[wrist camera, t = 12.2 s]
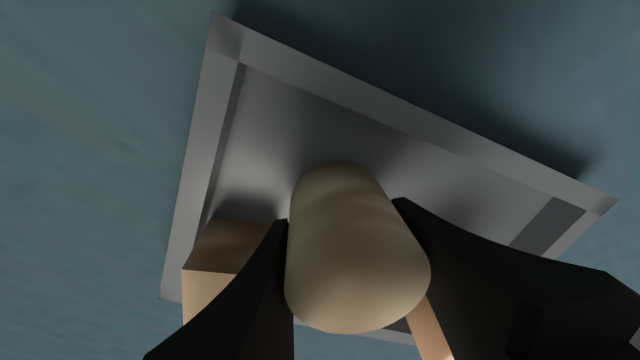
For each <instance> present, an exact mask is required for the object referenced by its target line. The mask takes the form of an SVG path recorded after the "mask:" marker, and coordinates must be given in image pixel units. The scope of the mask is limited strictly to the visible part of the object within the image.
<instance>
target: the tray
mask: <svg viewBox="0 0 640 360" xmlns="http://www.w3.org/2000/svg"><path fill="white" fill-rule="evenodd" d="M331 161H348V162H352V163H356V164H358V165H361V166H362V167H364V168H366V169H367V170H368V171H370V172H371V173H372V174H373V176H374V177H375V178H376V180H377V181H378V183H379V184H380V186H381V187H382V189H383V190H384V192H385V193H386V195H387V196H388V198H389V199H390V201H391V199H393V198H399V197H406V198H407V199H409V200H411V201H413V202H414V203H416V204H418V205H419V206H421V207H423V208H424V209H426V210H428V211H430V212H431V213H433V214H435V215H437V216H439V217H440V218H442V219H444V220H446V221H448V222H450V223H452V224H454V225H456V226H458V227H460V228H462V229H464V230H467V231H469V232H471V233H474V234H476V235H479V236H481V237H483V238H486V239H488V240H491V241H494V242H497V243H499V244H502V245H505V246H508V247H511V248H514V249H517V250H520V251H524V252H527V253H531V254H534V255H538V256H541V257H545V258H549V259H552V260H555V259H556V258H557V257H558V256H560V255H561V254H562V253H563V252H564V251H565V250H566V249H567V248H568V247H569V246H570V245H571V244H572V243H573V242H574V241H575V240H577V239H578V238H579V237H580V236H581V235H582V234H583V233H584V232H585V231H586V230H587V229H588V228H589V227H590V226H591V225H593V224H594V223H595V222H596V221H597V220H598V219H599V218H600V217H601V216H602V215H603V214H604V213H605V212H606V211H607V210H609V209H610V208H611V207H612V206H613V205H614V204H615V203H616V202H617V201H618V199H616V198H614V197H611V196H609V195H607V194H605V193H603V192H601V191H599V190H596V189H594V188H592V187H590V186H588V185H586V184H583V183H581V182H579V181H577V180H575V179H573V178H570V177H568V176H566V175H564V174H562V173H560V172H558V171H555V170H553V169H551V168H549V167H547V166H545V165H542V164H540V163H538V162H536V161H534V160H532V159H530V158H527V157H525V156H523V155H521V154H519V153H517V152H514V151H512V150H510V149H508V148H506V147H504V146H502V145H499V144H497V143H495V142H493V141H491V140H489V139H486V138H484V137H482V136H480V135H478V134H476V133H474V132H471V131H469V130H467V129H465V128H463V127H461V126H458V125H456V124H454V123H452V122H450V121H448V120H446V119H443V118H441V117H439V116H437V115H435V114H433V113H430V112H428V111H426V110H424V109H422V108H420V107H418V106H415V105H413V104H411V103H409V102H407V101H405V100H402V99H400V98H398V97H396V96H394V95H392V94H389V93H387V92H385V91H383V90H381V89H379V88H377V87H374V86H372V85H370V84H368V83H366V82H364V81H361V80H359V79H357V78H355V77H353V76H351V75H349V74H346V73H344V72H342V71H340V70H338V69H336V68H333V67H331V66H329V65H327V64H325V63H323V62H321V61H318V60H316V59H314V58H312V57H310V56H308V55H305V54H303V53H301V52H299V51H297V50H295V49H293V48H290V47H288V46H286V45H284V44H282V43H280V42H277V41H275V40H273V39H271V38H269V37H267V36H265V35H262V34H260V33H258V32H256V31H254V30H252V29H249V28H247V27H245V26H243V25H241V24H239V23H236V22H234V21H232V20H230V19H228V18H226V17H224V16H221V15H219V14H217V13H215V12H213V11H212V15H211V21H210V26H209V31H208V37H207V42H206V47H205V52H204V58H203V63H202V68H201V74H200V79H199V84H198V90H197V95H196V100H195V106H194V111H193V116H192V122H191V127H190V132H189V137H188V143H187V148H186V153H185V159H184V164H183V169H182V175H181V180H180V185H179V191H178V196H177V201H176V207H175V212H174V217H173V222H172V228H171V233H170V238H169V244H168V249H167V254H166V260H165V265H164V270H163V276H162V281H161V286H160V292H159V297H158V299H160V300H166V301H171V302H177V303H182V304H183V300H182V273H181V269H182V267H183V266H184V264H185V262H186V260H187V259H188V257H189V255H190V253H191V252H192V250H193V248H194V246H195V244H196V243H197V241H198V239H199V237H200V236H201V234H202V232H203V230H204V229H205V227H206V225H207V223H208V222H209V220H210V218H211V217H215V218H222V219H230V220H238V221H245V222H253V223H261V224H269V225H272V223H273V222H274V221H275V220H278V219H284V218H287V219H288V223H289V213H290V201H291V195H292V191H293V189H294V187H295V185H296V183H297V182H298V180H299V179H300V178H301V177H302V176H303V175H304V174H305V173H306V172H307V171H309V170H310V169H312V168H314V167H315V166H317V165H320V164H322V163H326V162H331ZM293 324H298V325H303V326H308V325H307V324H305V323H303V322H302V321H301V320H299V319H298V318H297V317H296V316H295V315H294V323H293ZM309 327H310V326H309ZM353 335H358V336H364V337H369V338H375V339H380V340H386V341H391V342H397V343H402V344H408V345H413V346H417V345H416V342H415V340H414V337H413V335H412V332H411V330H410V327H409V325H408V322H407V320H406V317H405V316H404V317H402V318H401V319H399V320H398V321H396V322H394V323H392V324H390V325H388V326H385V327H383V328H380V329H377V330H374V331H369V332H365V333H358V334H353Z"/></svg>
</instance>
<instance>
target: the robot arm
mask: <svg viewBox="0 0 640 360" xmlns="http://www.w3.org/2000/svg"><path fill="white" fill-rule="evenodd" d="M391 202H392V204H393V205H394V207H395V208H396V210H397V211H398V213H399V214H400V216H401V217H402V219H403V220H404V222H405V223H406V225H407V226H408V228H409V229H410V231H411V232H412V234H413V235H414V237H415V238H416V240H417V241H418V243H419V244H420V246H421V247H422V249H423V250H424V252H425V253H426V255H427V257H428V260H429V263H430V267H431V278H430V283H429V286H428V289H427V291H426V293H425V295H426V297H427V299H428V301H429V303H430V305H431V307H432V310H433V312H434V314H435V316H436V318H437V321H438V323H439V325H440V327H441V330H442V332H443V334H444V336H445V339H446V341H447V343H448V346H449V348H450V350H451V353H452V355H453V358H454V360H640V351H639V350H637V349H636V348H635V347H633V345H631V344H630V343H629V340H630V339H631V338H632V337H633V335H634V334H635V333H636V331H637V330H638V328H639V327H640V295H639V294H638V293H636V292H635V291H633V290H632V289H630V288H629V287H627V286H626V285H624V284H623V283H622V282H620V281H619V280H617V279H616V278H614V277H613V276H611V275H610V274H609V273H607V272H605V271H601V270H597V269H592V268H587V267H583V266H578V265H574V264H569V263H565V262H560V261H556V260H552V259H549V258H545V257H541V256H538V255H534V254H531V253H527V252H524V251H520V250H517V249H514V248H511V247H508V246H505V245H502V244H499V243H497V242H494V241H491V240H488V239H486V238H483V237H481V236H479V235H476V234H474V233H471V232H469V231H467V230H464V229H462V228H460V227H458V226H456V225H454V224H452V223H450V222H448V221H446V220H444V219H442V218H440V217H439V216H437V215H435V214H433V213H431V212H430V211H428V210H426V209H424V208H423V207H421V206H419V205H418V204H416V203H414V202H413V201H411V200H409V199H407V198H406V197H399V198H393V199H391ZM288 226H289V223H288V219H287V218H284V219H278V220H275V221H274V222H273V223H272V225H271V227H270V228H269V230H268V231H267V233H266V235H265V236H264V238H263V239H262V241H261V243H260V244H259V246H258V247H257V249H256V250H255V252H254V253H253V254H252V256H251V257H250V258H249V260H248V261H247V262H246V264H245V265H244V266H243V268H242V269H241V270H240V271H239V273H238V274H237V275H236V276H235V277H234V278H233V279H232V281H231V282H230V283H229V284H228V285H227V286H226V287H225V288H224V289H223V290H222V291H221V292H220V293H219V294H218V295H217V296H216V297H215V298H214V299H213V300H212V301H211V302H210V303H209V304H208V305H207V306H206V307H205V308H203V309H202V310H201V311H200V312H199V313H198V314H197V315H196V316H194V317H193V318H192V319H191V320H190V321H188V322H187V323H186V324H185V325H184V326H182V327H181V328H180V329H179V330H177V331H176V332H175V333H173V334H172V335H171V336H170V337H168V338H167V339H166V340H164V341H163V342H162V343H160V344H159V345H158V346H156V347H155V348H154V349H152V350H151V351H150V352H148V353H147V354H145V356H144V358H143V360H294V331H293V323H294V314H293V313H292V311H291V310H290V308H289V307H288V305H287V302H286V299H285V295H284V279H285V266H286V253H287V240H288Z"/></svg>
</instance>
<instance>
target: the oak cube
mask: <svg viewBox="0 0 640 360" xmlns="http://www.w3.org/2000/svg"><path fill="white" fill-rule="evenodd" d="M270 227H271V225H269V224H261V223H253V222H245V221H238V220H230V219H222V218H215V217H211V218H210V220H209V222H208V223H207V225H206V227H205V229H204V230H203V232H202V234H201V236H200V237H199V239H198V241H197V243H196V244H195V246H194V248H193V250H192V252H191V253H190V255H189V257H188V259H187V260H186V262H185V264H184V266H183V267H182V269H181V273H182V300H183V326H184V325H185V324H186V323H187V322H188V321H190V320H191V319H192V318H193V317H194V316H196V315H197V314H198V313H199V312H200V311H201V310H202V309H203V308H205V307H206V306H207V305H208V304H209V303H210V302H211V301H212V300H213V299H214V298H215V297H216V296H217V295H218V294H219V293H220V292H221V291H222V290H223V289H224V288H225V287H226V286H227V285H228V284H229V283H230V282H231V281H232V279H233V278H234V277H235V276H236V275H237V274H238V273H239V271H240V270H241V269H242V268H243V266H244V265H245V264H246V262H247V261H248V260H249V258H250V257H251V256H252V254H253V253H254V252H255V250H256V249H257V247H258V246H259V244H260V243H261V241H262V239H263V238H264V236H265V235H266V233H267V231H268V230H269V228H270Z"/></svg>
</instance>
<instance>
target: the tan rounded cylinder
mask: <svg viewBox="0 0 640 360" xmlns="http://www.w3.org/2000/svg"><path fill="white" fill-rule="evenodd" d="M405 317H406V320H407V322H408V325H409V327H410V330H411V332H412V335H413V337H414V340H415V342H416V345H417V348H418V350H419V353H420V355H421V358H422V360H454V358H453V355H452V353H451V350H450V348H449V346H448V343H447V341H446V339H445V336H444V334H443V332H442V330H441V327H440V325H439V323H438V321H437V318H436V316H435V314H434V312H433V310H432V307H431V305H430V303H429V301H428V299H427V297H426V295H424V297H423V298H422V300H421V301H420V302H419V303H418V305H417V306H416V307H415V308H414V309H413V310H412V311H410V312H409V313H408V314H407V315H405Z"/></svg>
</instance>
